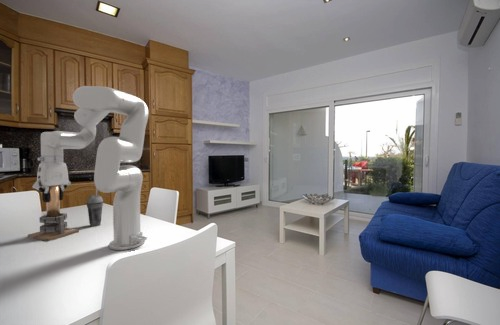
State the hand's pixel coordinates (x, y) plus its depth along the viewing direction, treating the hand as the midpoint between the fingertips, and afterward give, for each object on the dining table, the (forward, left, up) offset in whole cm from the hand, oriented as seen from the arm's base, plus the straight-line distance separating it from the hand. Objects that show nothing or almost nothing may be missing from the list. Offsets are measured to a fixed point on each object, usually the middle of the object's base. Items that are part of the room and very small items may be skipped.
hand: (53, 200), depth 102 cm
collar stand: (0, 0, -15) cm, 15 cm away
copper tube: (0, 0, -8) cm, 8 cm away
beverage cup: (-4, -16, -16) cm, 23 cm away
